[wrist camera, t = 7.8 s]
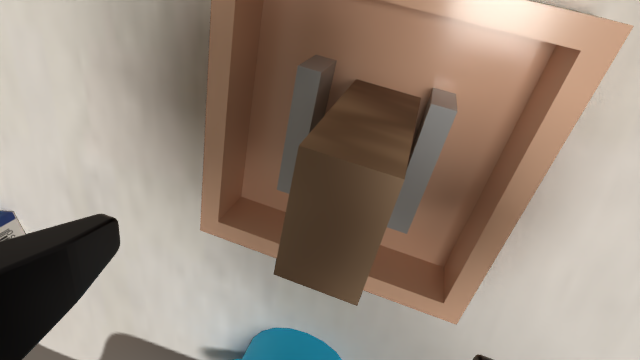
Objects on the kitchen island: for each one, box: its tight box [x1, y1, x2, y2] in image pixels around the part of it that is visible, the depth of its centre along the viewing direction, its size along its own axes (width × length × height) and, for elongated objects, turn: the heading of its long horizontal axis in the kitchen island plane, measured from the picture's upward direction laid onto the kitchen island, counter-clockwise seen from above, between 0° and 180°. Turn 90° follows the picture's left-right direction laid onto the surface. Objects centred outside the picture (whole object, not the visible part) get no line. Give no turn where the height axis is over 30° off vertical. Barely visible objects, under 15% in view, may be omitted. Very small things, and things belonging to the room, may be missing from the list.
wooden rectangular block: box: [274, 79, 421, 306], centre depth 15 cm, size 3×5×8 cm, turn 168°
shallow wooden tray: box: [200, 0, 633, 324], centre depth 18 cm, size 14×14×4 cm
